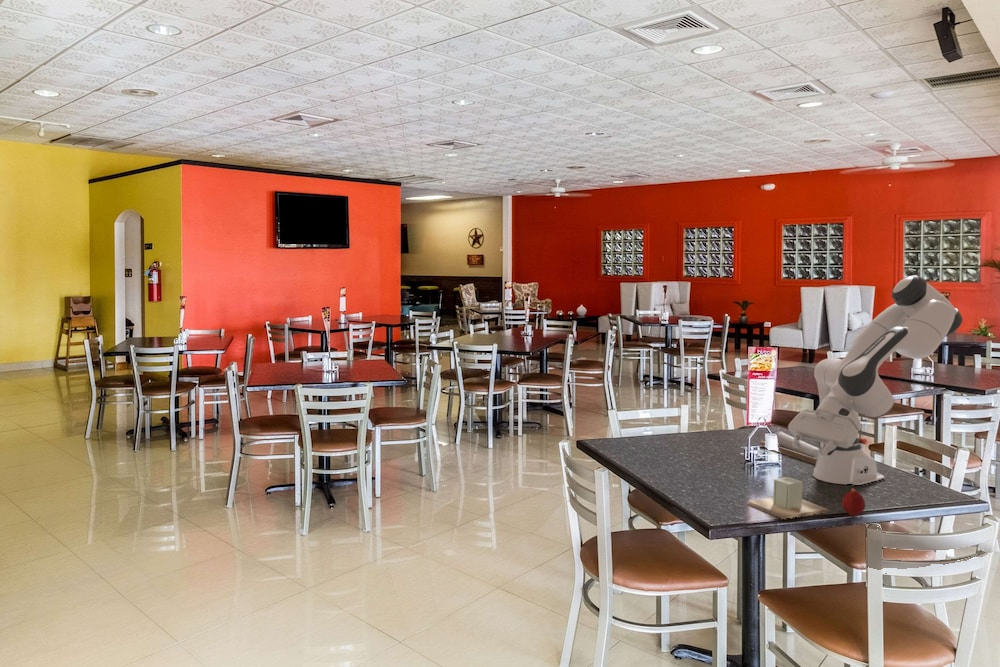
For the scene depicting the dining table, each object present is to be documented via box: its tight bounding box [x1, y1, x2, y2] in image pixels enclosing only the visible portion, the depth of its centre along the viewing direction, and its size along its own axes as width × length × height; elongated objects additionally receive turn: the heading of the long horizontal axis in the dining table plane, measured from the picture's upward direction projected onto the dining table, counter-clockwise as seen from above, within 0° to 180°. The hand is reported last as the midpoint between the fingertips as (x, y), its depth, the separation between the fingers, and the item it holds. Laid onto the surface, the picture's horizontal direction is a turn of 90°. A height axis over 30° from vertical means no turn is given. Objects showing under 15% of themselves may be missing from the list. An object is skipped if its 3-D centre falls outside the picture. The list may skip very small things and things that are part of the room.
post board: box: [747, 497, 829, 520], centre depth 213 cm, size 16×14×6 cm
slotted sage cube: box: [772, 476, 803, 509], centre depth 213 cm, size 5×5×7 cm
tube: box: [775, 431, 819, 458], centre depth 275 cm, size 5×5×25 cm
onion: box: [841, 488, 866, 518], centre depth 206 cm, size 6×6×8 cm
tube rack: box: [759, 440, 817, 465], centre depth 275 cm, size 11×28×2 cm, turn 22°
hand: (808, 450), depth 216 cm, fingers open, 8 cm apart
